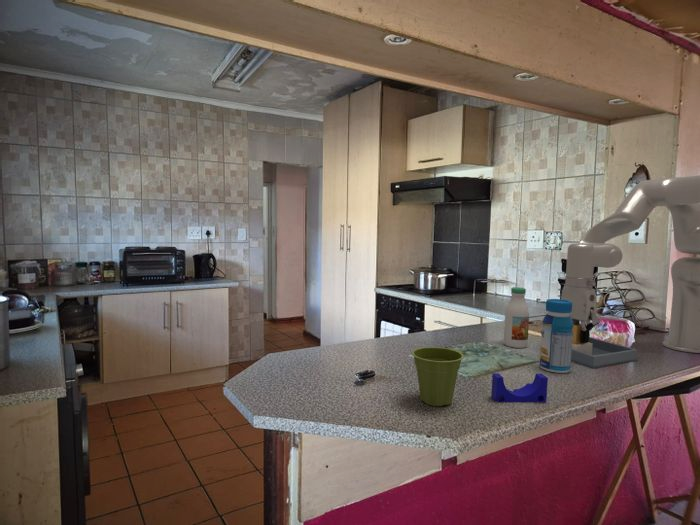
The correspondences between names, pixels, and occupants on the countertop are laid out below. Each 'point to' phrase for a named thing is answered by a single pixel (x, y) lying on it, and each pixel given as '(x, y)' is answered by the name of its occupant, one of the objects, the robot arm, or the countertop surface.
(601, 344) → the walled box
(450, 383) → the plant pot
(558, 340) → the beverage bottle
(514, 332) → the milk bottle
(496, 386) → the blue u-shaped cradle
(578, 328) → the orange square bottle
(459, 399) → the countertop surface
